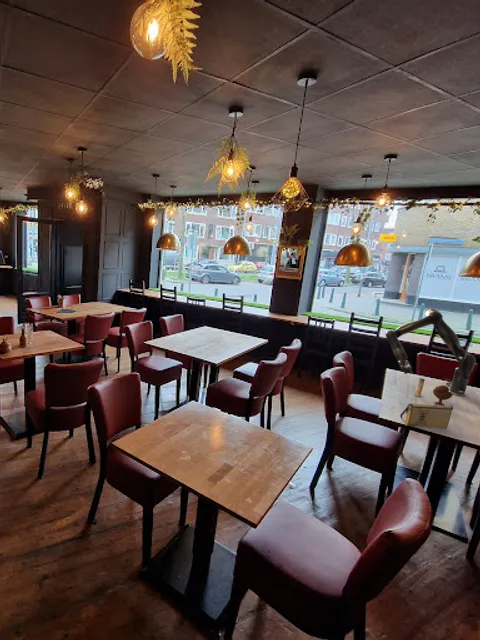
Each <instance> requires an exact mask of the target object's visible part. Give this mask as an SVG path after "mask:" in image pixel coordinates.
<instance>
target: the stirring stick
mask: <svg viewBox="0 0 480 640" xmlns="http://www.w3.org/2000/svg"><path fill="white" fill-rule="evenodd" d="M425 380H426V379H425V378H422V377H420V378H419V380H418V384H417V388H416V392H415V397H417V398H420V397H421V396H422V393H423V388H424V384H425Z"/></svg>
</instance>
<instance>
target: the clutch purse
mask: <svg viewBox="0 0 480 640" xmlns="http://www.w3.org/2000/svg"><path fill="white" fill-rule="evenodd" d="M453 410H454V406H453V405H445V404H444V405H436V404H428V403H427V404H426V403H408V405H406V408H405V409H404V410H403V411H402V412H401V413H400V415H399V416H400V419H401V420H402V421H404V426H406V427H426V428H443V429H444V428H445V429H446V428H448V426H449V424H450V419H451V416H452V412H453ZM405 413H406V414H405ZM404 414H405V415H406V416H405V419H404V418H403V415H404Z"/></svg>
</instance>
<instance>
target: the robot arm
mask: <svg viewBox="0 0 480 640" xmlns="http://www.w3.org/2000/svg"><path fill="white" fill-rule="evenodd" d="M430 325H433V327H434V328H435V330H436V332H437V334H438V336H439V337H440V339H441V340H442V342H443V343H444V344H445V346H446V347H447V348H448V349H449V350H450V352H451V353H452V354H453V357H454V358H455V360H456V361H457V362H458V363H459V366H458V367H455V369H454V372H453V376H452V379H449V378H445V379H444V380H445V381H448V382H446V386H447V387H448V388H449V391H450V392H451V394H452V395H455V396H459V397H464V396H465V394H466V391H467V387H468V385H469V384H468V383H469V380H470V376H471V373H472V372H473V371H474V368H475V365H476V361H477V359H476V357H475V356H474V355H472V354H470V353H468V352H467V351H466V350H465V349H464V348H463V346H462V345H461V342H460V338H459V337H458V335H457V334H456V332H455V331H454V330H453V329H452V328H451V326H449V325H448V324H447V323H446V322H445V320H444V319H443V314H442V313H441V312H440V311H439V310H437V309H435V308H431V309H430V308H429V309H428V310H427V311H426V312H425V317H423V318H421V319H418V320H414V321H410V322H407V323H405V324H402V325H400V326H398V327H397V328H396V329H393V330H392V329H391V330H387V331H386V332H385V337H386V340H387V342H388V343H389V345H390V349H392V353H393V355H394V358H395V359H396V361H397V364H398V366H399V368H400V370H402V371H403V373H404V375H407V374H410V375H412V374H413V373H414V372H413V370H412V368H413V365H412V364H411V362H410V361H409V360H407V359H408V358H409V357H408V355H407V353H406V350H405V349H404V348H403V345H402V343H401V342H400V340H399V338H401V337H402V336H404V335H406V334H409V333H412V332H413V331H416V330H418V329H421V328H424V327H428V326H430Z"/></svg>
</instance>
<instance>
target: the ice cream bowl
mask: <svg viewBox="0 0 480 640" xmlns="http://www.w3.org/2000/svg"><path fill="white" fill-rule="evenodd" d="M449 390H450V387H449V386H448V385H445V384H442V385H438V386H435V387H434V389H432V393H433V395H434V397H436V399H438V401H435V402H434V405H445V404H444V403H443V401H446V400H450V399H451V398H452V397H453V394H452V393H451V392H450V391H449Z"/></svg>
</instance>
